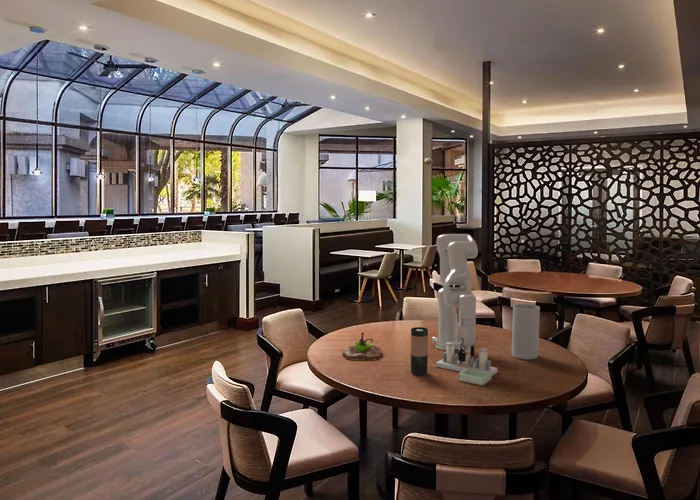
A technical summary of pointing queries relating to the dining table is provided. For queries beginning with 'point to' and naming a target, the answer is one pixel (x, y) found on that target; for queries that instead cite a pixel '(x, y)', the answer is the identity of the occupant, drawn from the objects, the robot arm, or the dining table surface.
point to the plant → (362, 350)
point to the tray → (475, 376)
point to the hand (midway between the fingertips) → (466, 358)
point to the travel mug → (419, 350)
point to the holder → (459, 367)
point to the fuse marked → (467, 356)
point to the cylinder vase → (525, 331)
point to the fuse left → (449, 352)
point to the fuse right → (483, 358)
